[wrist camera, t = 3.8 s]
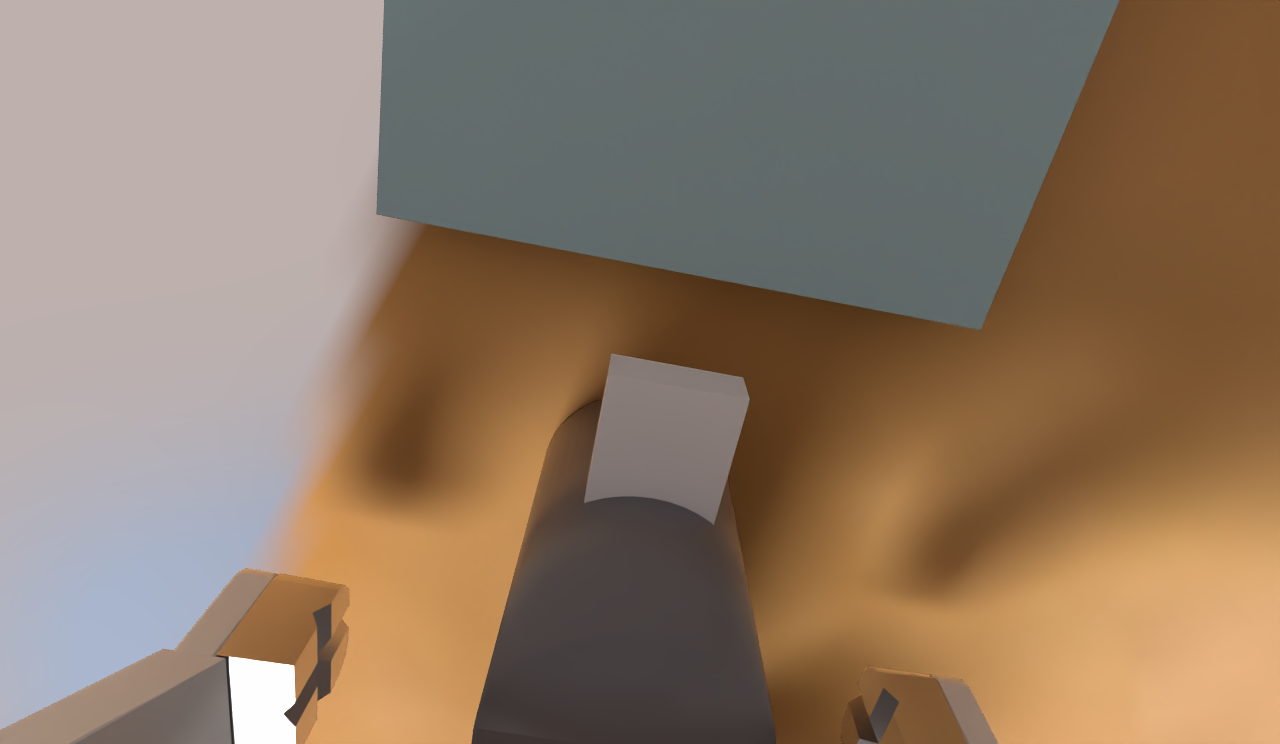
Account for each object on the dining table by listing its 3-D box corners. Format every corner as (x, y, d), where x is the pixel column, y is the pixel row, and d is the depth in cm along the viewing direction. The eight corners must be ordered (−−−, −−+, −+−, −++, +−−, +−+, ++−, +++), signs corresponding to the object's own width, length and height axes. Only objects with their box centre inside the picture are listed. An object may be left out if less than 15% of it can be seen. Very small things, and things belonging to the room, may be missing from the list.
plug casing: (770, 325, 10) (865, 533, 6) (653, 732, 14) (654, 1060, 9) (572, 287, 10) (508, 471, 6) (504, 710, 14) (432, 1035, 9)
